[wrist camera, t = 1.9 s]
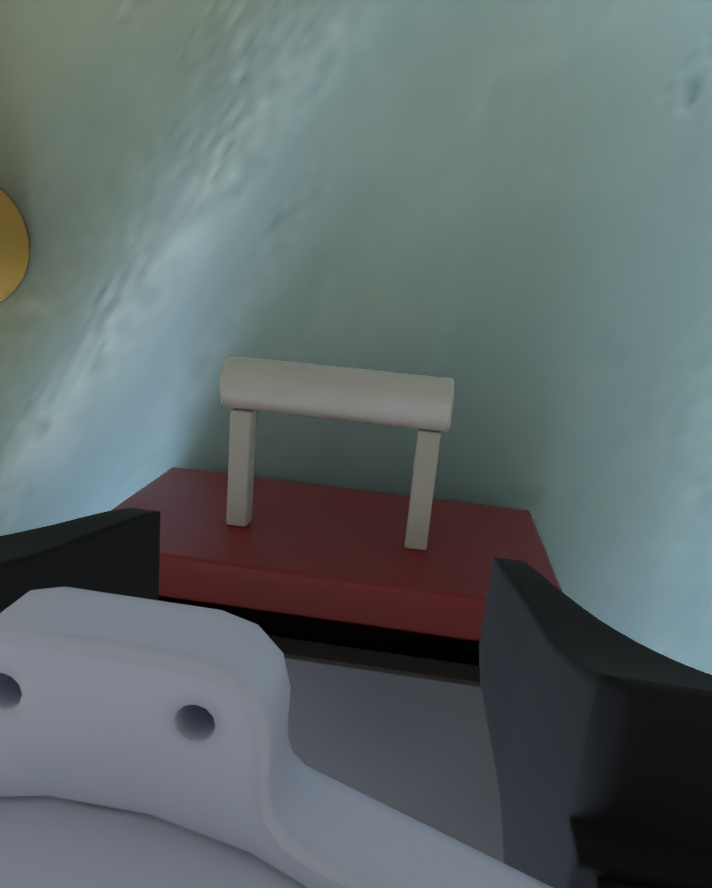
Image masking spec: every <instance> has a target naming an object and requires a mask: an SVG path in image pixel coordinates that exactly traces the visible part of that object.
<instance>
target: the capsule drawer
mask: <svg viewBox="0 0 712 888" xmlns="http://www.w3.org/2000/svg"><path fill="white" fill-rule="evenodd" d="M454 390H455V381H454V379H452V378H446V377H437V376H427V375H417V374H408V373H398V372H389V371H379V370H369V369H360V368H350V367H341V366H331V365H321V364H312V363H302V362H293V361H283V360H273V359H264V358H254V357H245V356H235V355H231V356H228V357H227V358H226V360H225V362H224V364H223V367H222V371H221V376H220V397H221V401H222V404H223V405H224V406H225V407H227V408H234V409H232V410H231V412H230V437H229V463H228V474H225V473H216V472H208V471H200V470H192V469H184V468H175V467H173V468H171V469H170V470H168V471H167V472H166V473H164V474H163V475H161V476H160V477H158V478H157V479H156V480H154V481H153V482H151V483H150V484H148V485H147V486H146V487H144V488H143V489H141V490H140V491H138V492H137V493H135V494H134V495H133V496H131V497H130V498H128V499H127V500H125V501H124V502H123V503H121V504H120V505H118V506H117V507H115V508H114V509H113V510H117V509H124V508H139V509H146V510H154V511H160V562H159V597H158V599H157V600H158V601H165V602H171V603H178V604H185V605H191V606H198V607H205V608H211V609H218V610H223V611H225V612H228V613H230V614H233V615H235V616H238V617H240V618H243V619H245V620H248V621H250V622H253V623H255V624H258V625H259V626H260V627H261V628H262V630H263V631H264V632H265V633H266V634H267V635H270V636H277V637H284V638H290V639H297V640H304V641H311V642H318V643H325V644H332V645H338V646H345V647H352V648H359V649H366V650H373V651H380V652H387V653H393V654H400V655H407V656H414V657H421V658H428V659H435V660H441V661H448V662H455V663H462V664H469V665H476V666H480V660H479V642H480V636H481V630H482V623H483V617H484V611H485V605H486V599H487V593H488V586H489V580H490V574H491V568H492V562H493V557H498V558H505V559H512V560H520V561H524V562H526V563H527V564H529V565H530V566H532V567H533V568H534V569H535V570H536V571H538V572H539V573H540V574H541V575H542V576H544V577H545V578H546V579H547V580H548V581H550V582H551V583H552V584H553V585H554V586H556V587H557V588H558V589H559V590H560V591H562V590H561V587H560V585H559V582H558V580H557V577H556V575H555V572H554V570H553V568H552V565H551V563H550V560H549V558H548V555H547V553H546V550H545V548H544V546H543V543H542V541H541V538H540V536H539V533H538V531H537V528H536V526H535V524H534V521H533V519H532V516H531V514H530V511H528V510H519V509H511V508H503V507H495V506H487V505H478V504H470V503H462V502H454V501H446V500H438V499H433V493H434V485H435V477H436V469H437V460H438V452H439V444H440V436H441V432H447V431H448V430H449V428H450V423H451V417H452V409H453V401H454ZM257 411H263V412H272V413H281V414H290V415H299V416H308V417H316V418H325V419H334V420H343V421H352V422H361V423H370V424H379V425H388V426H397V427H406V428H415V429H418V432H417V441H416V450H415V458H414V467H413V476H412V485H411V493H410V496H405V495H397V494H388V493H380V492H372V491H364V490H356V489H347V488H339V487H331V486H323V485H315V484H307V483H298V482H290V481H282V480H274V479H266V478H257V477H254V462H255V442H256V421H257ZM111 511H112V510H111Z"/></svg>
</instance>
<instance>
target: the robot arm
mask: <svg viewBox="0 0 712 888" xmlns="http://www.w3.org/2000/svg"><path fill="white" fill-rule="evenodd" d="M159 562H160V511H154V510H146V509H139V508H124V509H117V510H112V511H107V512H103V513H99V514H94V515H90V516H86V517H82V518H78V519H74V520H71V521H67V522H63V523H59V524H55V525H50V526H46V527H41V528H37V529H32V530H28V531H23V532H19V533H14V534H10V535H4V536H0V888H712V675H710V674H707V673H704V672H702V671H699V670H696V669H694V668H691V667H689V666H686V665H684V664H681V663H679V662H677V661H675V660H673V659H670V658H668V657H666V656H664V655H662V654H659V653H657V652H655V651H653V650H651V649H649V648H647V647H645V646H643V645H641V644H639V643H637V642H635V641H634V640H632V639H630V638H628V637H627V636H625V635H623V634H621V633H620V632H618V631H616V630H615V629H613V628H611V627H610V626H608V625H607V624H605V623H603V622H602V621H600V620H599V619H598V618H596V617H595V616H593V615H592V614H591V613H589V612H588V611H586V610H585V609H583V608H582V607H581V606H579V605H578V604H577V603H575V602H574V601H573V600H572V599H570V598H569V597H568V596H567V595H565V594H564V593H563V592H562V591H560V590H559V589H558V588H557V587H556V586H554V585H553V584H552V583H551V582H550V581H548V580H547V579H546V578H545V577H544V576H542V575H541V574H540V573H539V572H538V571H536V570H535V569H534V568H533V567H532V566H530V565H529V564H527V563H526V562H524V561H520V560H512V559H505V558H498V557H493V562H492V568H491V574H490V580H489V586H488V593H487V599H486V605H485V611H484V617H483V623H482V630H481V636H480V642H479V660H480V685H481V691H482V697H483V702H484V708H485V714H486V719H487V725H488V730H489V736H490V741H491V747H492V752H493V757H494V763H495V768H496V774H497V781H498V788H499V796H500V809H501V824H502V839H503V856H504V863H502V862H500V861H498V860H496V859H494V858H492V857H490V856H488V855H486V854H484V853H482V852H480V851H478V850H476V849H474V848H472V847H470V846H468V845H466V844H464V843H462V842H460V841H458V840H456V839H454V838H452V837H450V836H448V835H446V834H444V833H442V832H440V831H438V830H436V829H434V828H432V827H430V826H428V825H426V824H424V823H422V822H420V821H418V820H416V819H414V818H412V817H410V816H408V815H405V814H403V813H401V812H399V811H397V810H395V809H393V808H391V807H389V806H387V805H385V804H383V803H381V802H379V801H377V800H375V799H373V798H371V797H369V796H367V795H365V794H363V793H361V792H359V791H357V790H355V789H353V788H351V787H349V786H347V785H345V784H343V783H341V782H339V781H337V780H335V779H333V778H331V777H329V776H327V775H325V774H323V773H321V772H319V771H317V770H315V769H313V768H311V767H309V766H307V765H305V764H304V763H303V762H302V761H301V760H300V759H299V758H298V756H297V755H296V754H295V753H294V752H293V750H292V747H291V744H290V742H289V733H288V716H289V703H290V691H291V687H290V682H289V677H288V672H287V668H286V663H285V658H284V654H283V652H282V651H281V650H280V649H279V648H278V647H277V645H276V644H275V643H274V642H273V641H272V640H271V639H270V638H269V636H268V635H267V634H266V633H265V632H264V631H263V630H262V628H261V627H260V626H259V625H258V624H255V623H253V622H250V621H248V620H245V619H243V618H240V617H238V616H235V615H233V614H230V613H228V612H225V611H223V610H218V609H211V608H205V607H198V606H191V605H185V604H178V603H171V602H165V601H158V600H157V599H158V597H159Z"/></svg>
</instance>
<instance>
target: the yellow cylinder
mask: <svg viewBox="0 0 712 888" xmlns="http://www.w3.org/2000/svg"><path fill="white" fill-rule="evenodd" d="M28 260H29V238H28V233H27V229H26V226H25V223H24V220H23V218H22V216H21V214H20V212H19V210H18V209H17V207H16V205H15V204H14V203H13V202H12V200H11V199H10V198H9V197H8V196H7V195H6V194H5V193H4V192H3V191H2V190H1V189H0V301H1V300H3V299H5V298H6V297H8V296H9V295H10V294H11V293H12V292H13V291H14V290H15V289H16V288H17V287H18V286H19V284H20V282H21V281H22V279H23V277H24V275H25V272H26V269H27V265H28Z"/></svg>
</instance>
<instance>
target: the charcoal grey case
mask: <svg viewBox="0 0 712 888" xmlns="http://www.w3.org/2000/svg"><path fill="white" fill-rule="evenodd" d="M268 636H269V638H270V639H271V640H272V641H273V642H274V643H275V644H276V645H277V647H278V648H279V649H280V650H281V651H282V652H283V654H284V658H285V663H286V668H287V672H288V677H289V682H290V687H291V691H290V703H289V716H288V733H289V742H290V744H291V747H292V750H293V752H294V753H295V754H296V755H297V756H298V758H299V759H300V760H301V761H302V762H303V763H304V764H305V765H307V766H309V767H311V768H313V769H315V770H317V771H319V772H321V773H323V774H325V775H327V776H329V777H331V778H333V779H335V780H337V781H339V782H341V783H343V784H345V785H347V786H349V787H351V788H353V789H355V790H357V791H359V792H361V793H363V794H365V795H367V796H369V797H371V798H373V799H375V800H377V801H379V802H381V803H383V804H385V805H387V806H389V807H391V808H393V809H395V810H397V811H399V812H401V813H403V814H405V815H408V816H410V817H412V818H414V819H416V820H418V821H420V822H422V823H424V824H426V825H428V826H430V827H432V828H434V829H436V830H438V831H440V832H442V833H444V834H446V835H448V836H450V837H452V838H454V839H456V840H458V841H460V842H462V843H464V844H466V845H468V846H470V847H472V848H474V849H476V850H478V851H480V852H482V853H484V854H486V855H488V856H490V857H492V858H494V859H496V860H498V861H500V862H502V863H504V856H503V839H502V824H501V809H500V796H499V788H498V781H497V774H496V768H495V763H494V757H493V752H492V747H491V741H490V736H489V730H488V725H487V719H486V714H485V708H484V702H483V697H482V691H481V685H480V666H476V665H469V664H462V663H455V662H448V661H441V660H435V659H428V658H421V657H414V656H407V655H400V654H393V653H387V652H380V651H373V650H366V649H359V648H352V647H345V646H338V645H332V644H325V643H318V642H311V641H304V640H297V639H290V638H284V637H277V636H270V635H268Z"/></svg>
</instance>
